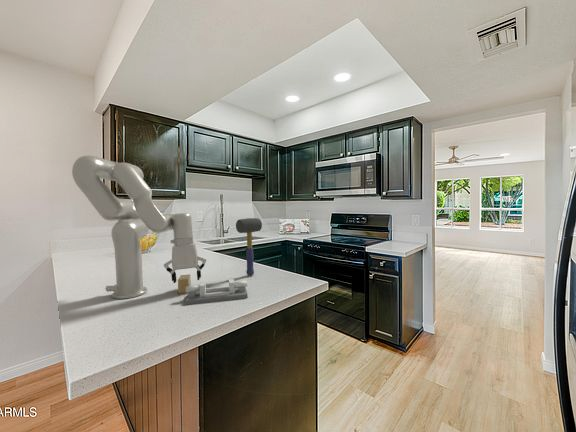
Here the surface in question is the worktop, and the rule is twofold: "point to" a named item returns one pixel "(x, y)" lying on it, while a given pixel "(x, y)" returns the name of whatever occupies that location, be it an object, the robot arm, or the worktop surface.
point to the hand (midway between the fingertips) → (186, 280)
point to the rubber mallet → (249, 238)
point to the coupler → (183, 284)
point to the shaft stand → (216, 292)
